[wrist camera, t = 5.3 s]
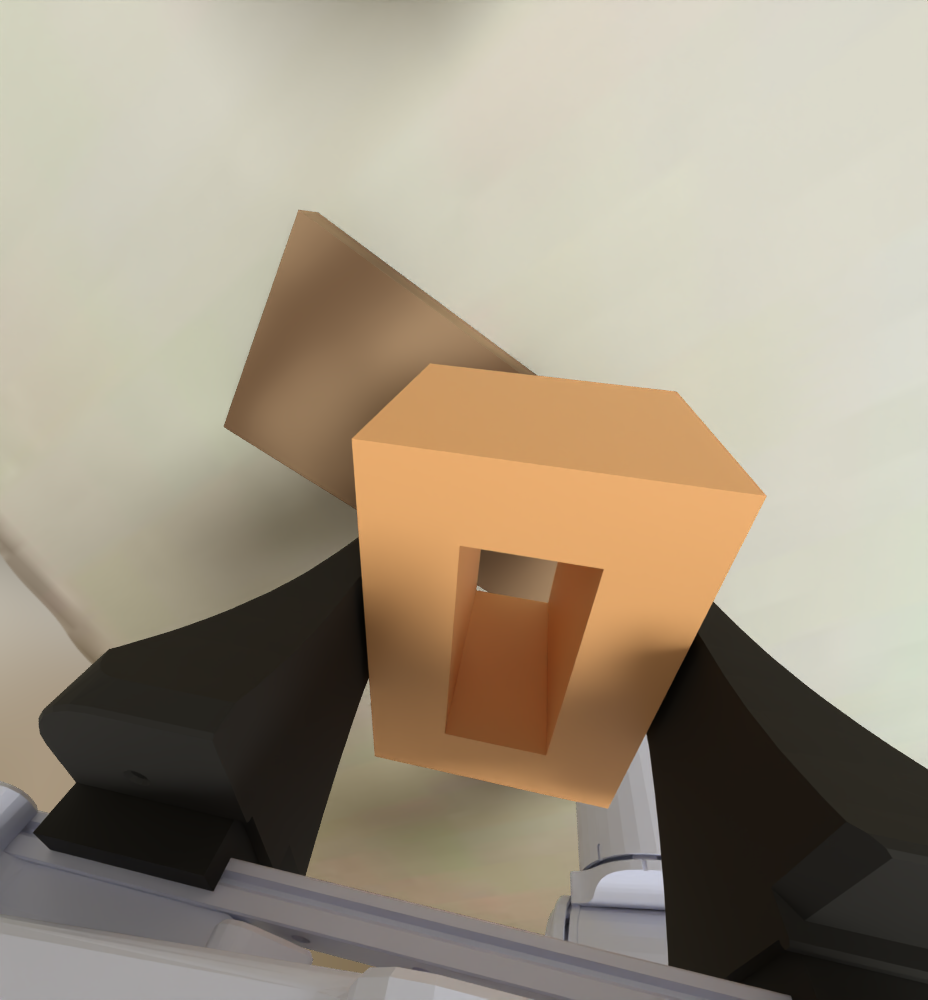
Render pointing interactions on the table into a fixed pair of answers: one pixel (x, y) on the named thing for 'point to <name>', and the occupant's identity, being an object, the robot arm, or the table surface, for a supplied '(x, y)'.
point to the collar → (544, 535)
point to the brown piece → (354, 369)
